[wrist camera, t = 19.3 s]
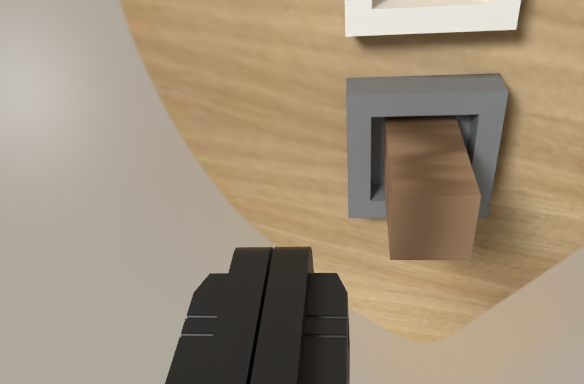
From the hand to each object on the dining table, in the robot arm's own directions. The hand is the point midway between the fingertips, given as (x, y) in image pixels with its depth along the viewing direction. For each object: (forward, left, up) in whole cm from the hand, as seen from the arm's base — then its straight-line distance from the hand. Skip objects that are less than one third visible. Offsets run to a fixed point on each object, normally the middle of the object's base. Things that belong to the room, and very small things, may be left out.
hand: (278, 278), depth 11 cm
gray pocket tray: (-6, +12, -25) cm, 28 cm away
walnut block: (-6, +12, -25) cm, 28 cm away
